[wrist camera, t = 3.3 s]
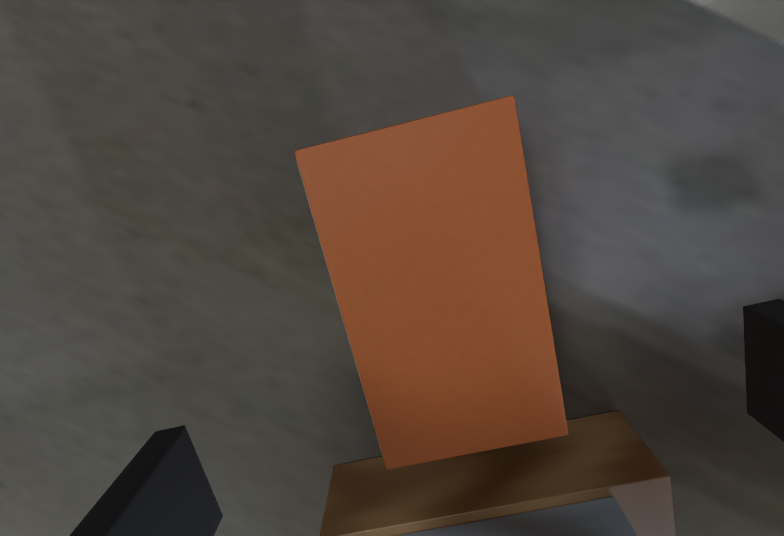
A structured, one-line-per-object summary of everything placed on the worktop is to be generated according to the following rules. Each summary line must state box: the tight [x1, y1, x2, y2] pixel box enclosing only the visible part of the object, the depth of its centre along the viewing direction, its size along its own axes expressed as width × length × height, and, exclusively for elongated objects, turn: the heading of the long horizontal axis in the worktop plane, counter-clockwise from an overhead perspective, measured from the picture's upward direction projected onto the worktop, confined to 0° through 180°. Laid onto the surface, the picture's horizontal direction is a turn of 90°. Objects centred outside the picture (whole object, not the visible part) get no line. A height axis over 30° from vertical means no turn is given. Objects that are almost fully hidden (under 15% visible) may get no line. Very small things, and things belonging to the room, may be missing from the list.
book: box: [295, 95, 568, 469], centre depth 20 cm, size 8×14×5 cm, turn 14°
